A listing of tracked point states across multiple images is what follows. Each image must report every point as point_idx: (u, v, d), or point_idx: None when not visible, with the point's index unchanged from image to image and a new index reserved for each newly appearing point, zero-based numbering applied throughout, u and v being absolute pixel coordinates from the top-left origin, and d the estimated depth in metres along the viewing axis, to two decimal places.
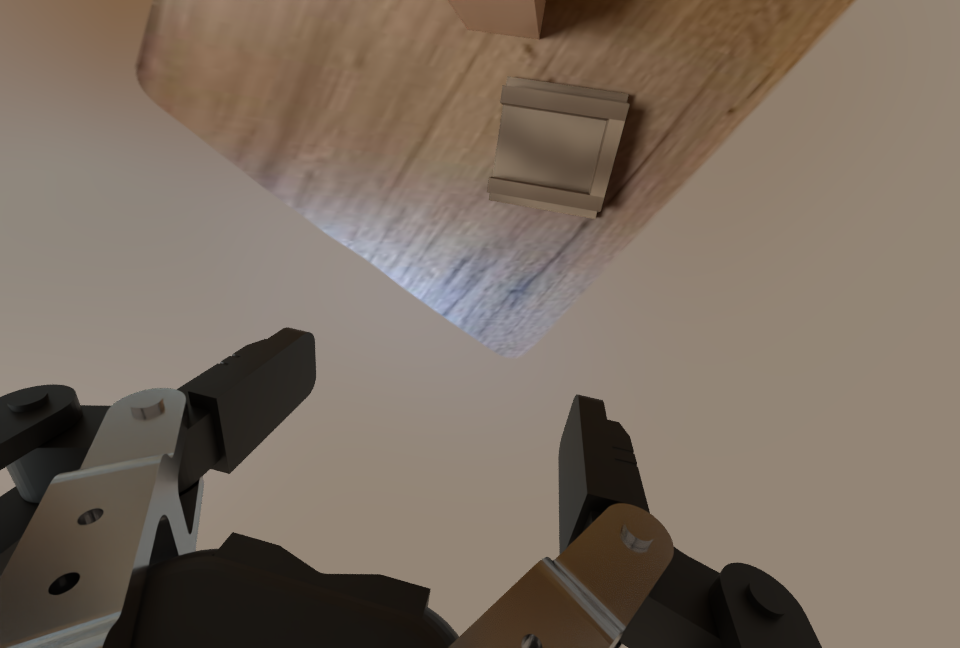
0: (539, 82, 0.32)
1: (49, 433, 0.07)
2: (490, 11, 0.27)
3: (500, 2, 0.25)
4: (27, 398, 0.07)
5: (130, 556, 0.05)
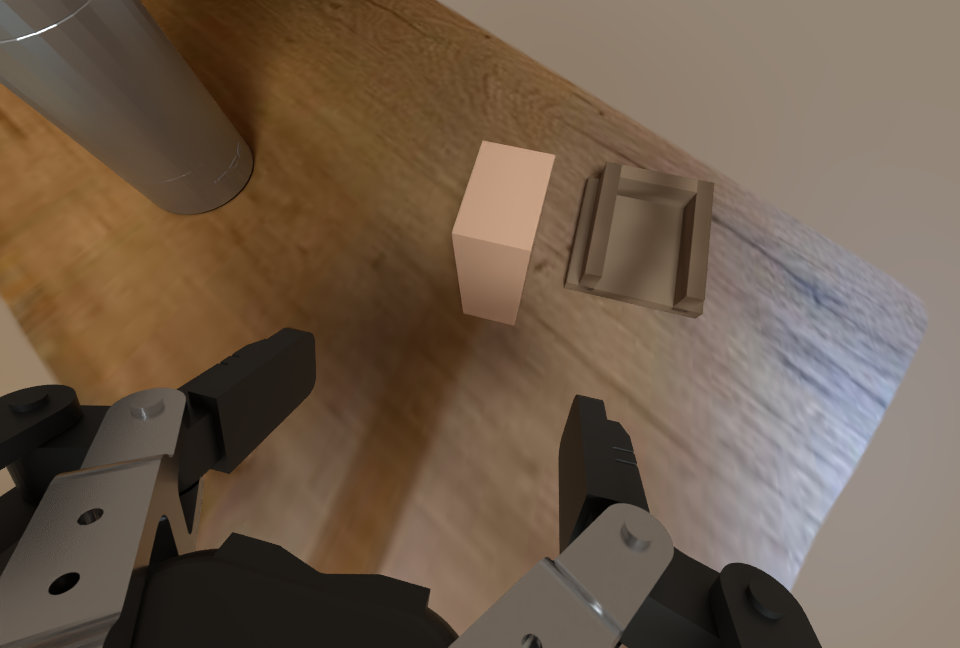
0: (574, 251, 0.30)
1: (49, 433, 0.07)
2: None
3: None
4: (27, 398, 0.07)
5: (130, 556, 0.05)
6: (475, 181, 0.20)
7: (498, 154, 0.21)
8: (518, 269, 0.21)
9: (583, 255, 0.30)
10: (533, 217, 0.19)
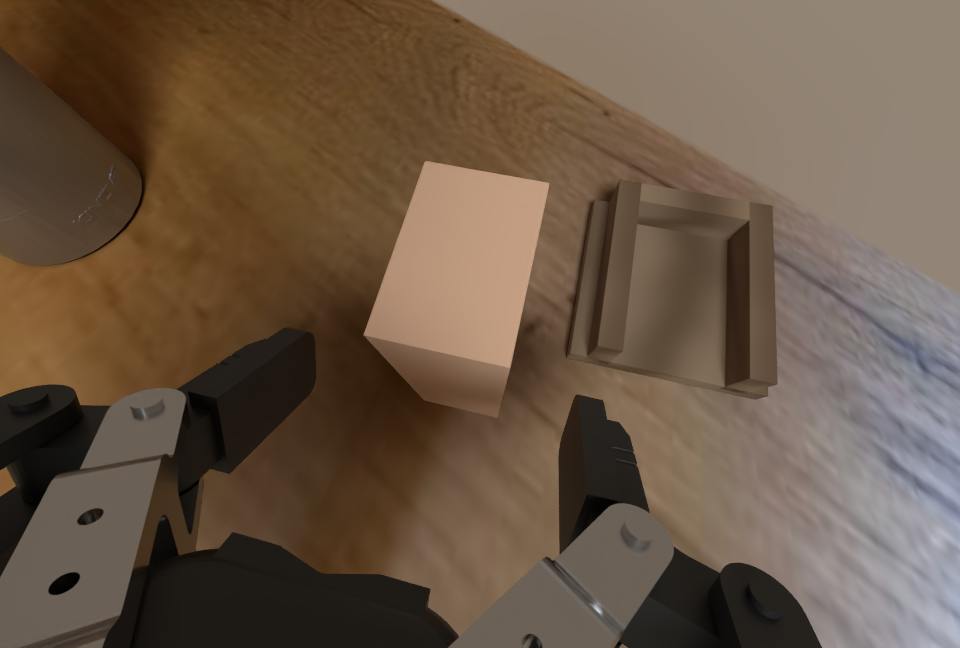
0: (579, 306, 0.21)
1: (49, 433, 0.07)
2: None
3: None
4: (28, 398, 0.07)
5: (130, 556, 0.05)
6: (410, 234, 0.11)
7: (452, 184, 0.12)
8: (492, 381, 0.12)
9: (592, 312, 0.21)
10: (514, 299, 0.11)
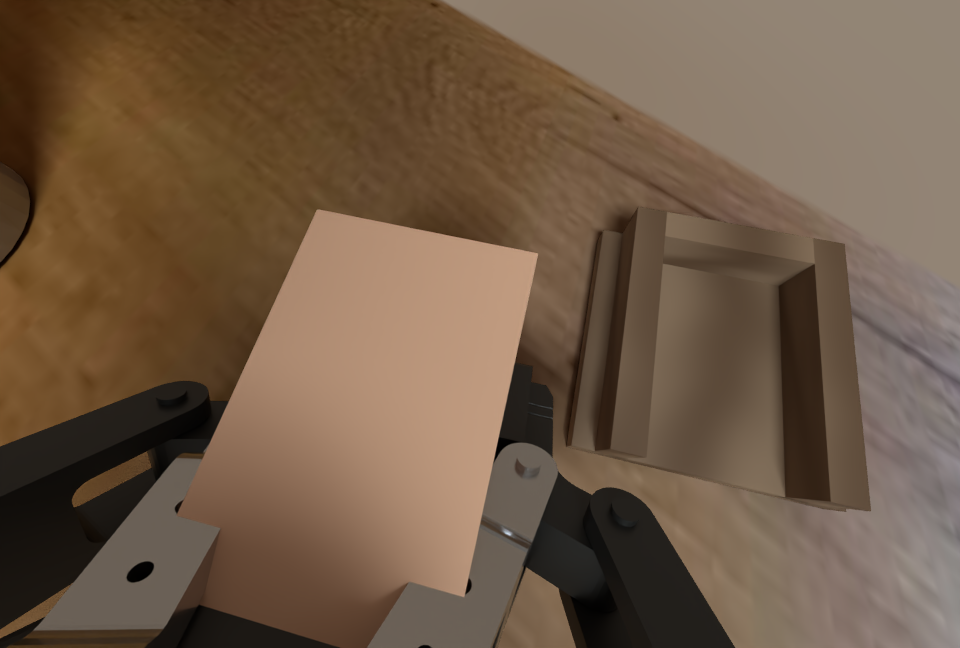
0: (583, 378, 0.16)
1: (192, 426, 0.08)
2: None
3: None
4: (171, 393, 0.08)
5: (197, 561, 0.05)
6: (271, 355, 0.06)
7: (361, 254, 0.07)
8: None
9: (601, 386, 0.16)
10: (461, 508, 0.05)
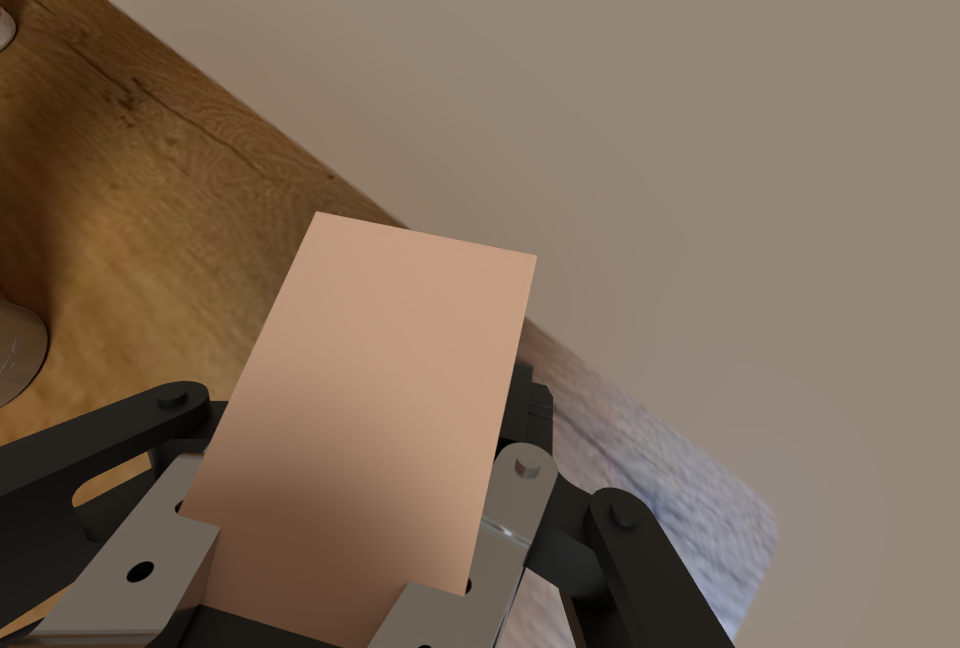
0: None
1: (192, 425, 0.08)
2: None
3: None
4: (170, 394, 0.08)
5: (198, 561, 0.05)
6: (270, 358, 0.06)
7: (360, 256, 0.07)
8: None
9: None
10: (460, 511, 0.05)
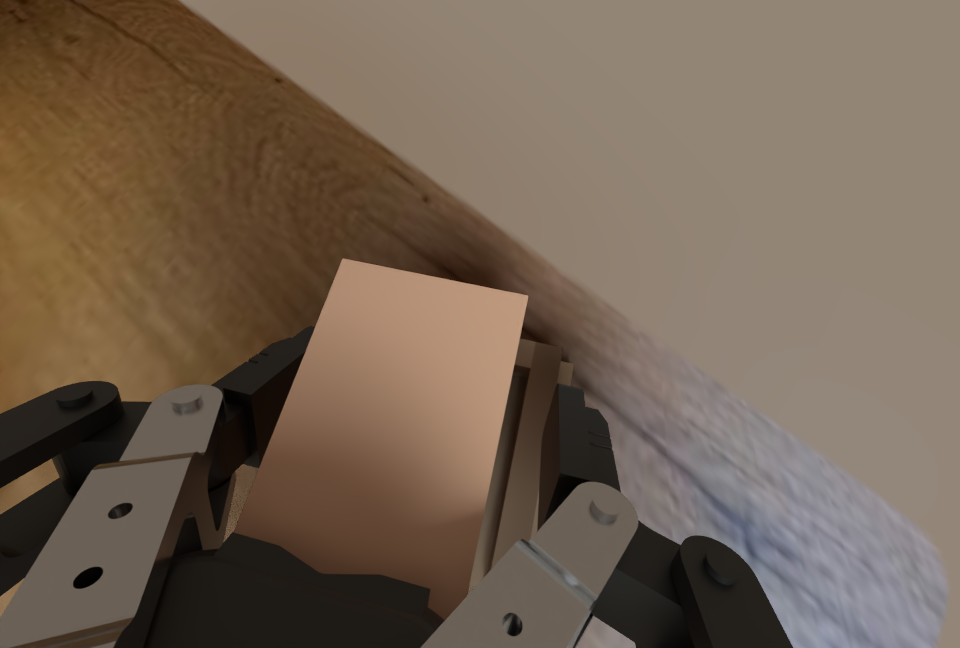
0: None
1: (95, 428, 0.07)
2: None
3: None
4: (73, 394, 0.07)
5: (152, 555, 0.05)
6: (309, 385, 0.07)
7: (380, 297, 0.08)
8: None
9: None
10: (467, 508, 0.07)
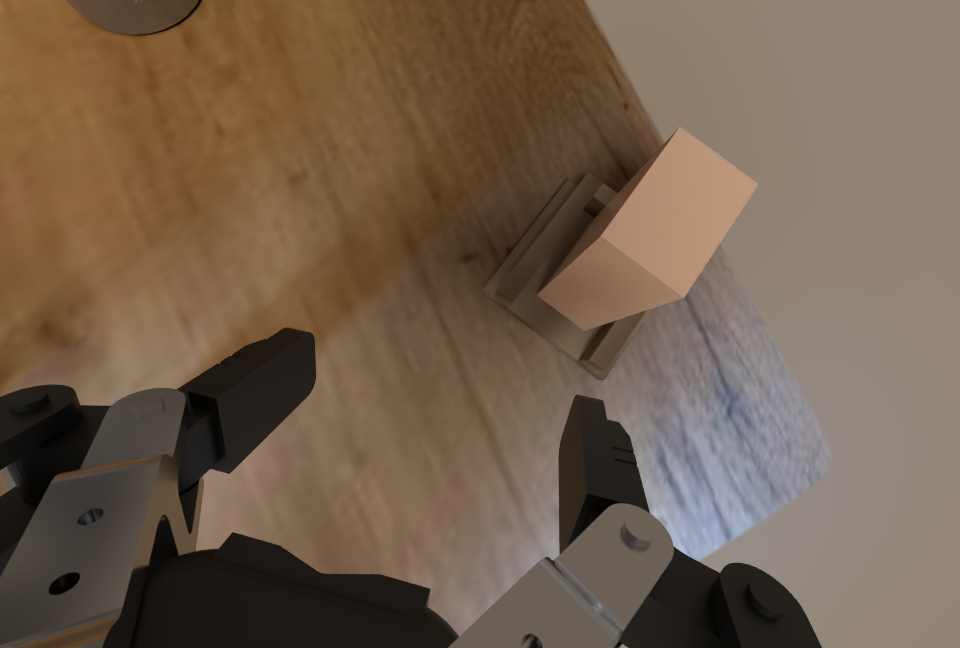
0: (508, 258, 0.26)
1: (49, 433, 0.07)
2: None
3: None
4: (27, 398, 0.07)
5: (130, 556, 0.05)
6: (651, 179, 0.16)
7: (692, 154, 0.16)
8: (646, 301, 0.17)
9: (515, 266, 0.26)
10: (702, 255, 0.15)
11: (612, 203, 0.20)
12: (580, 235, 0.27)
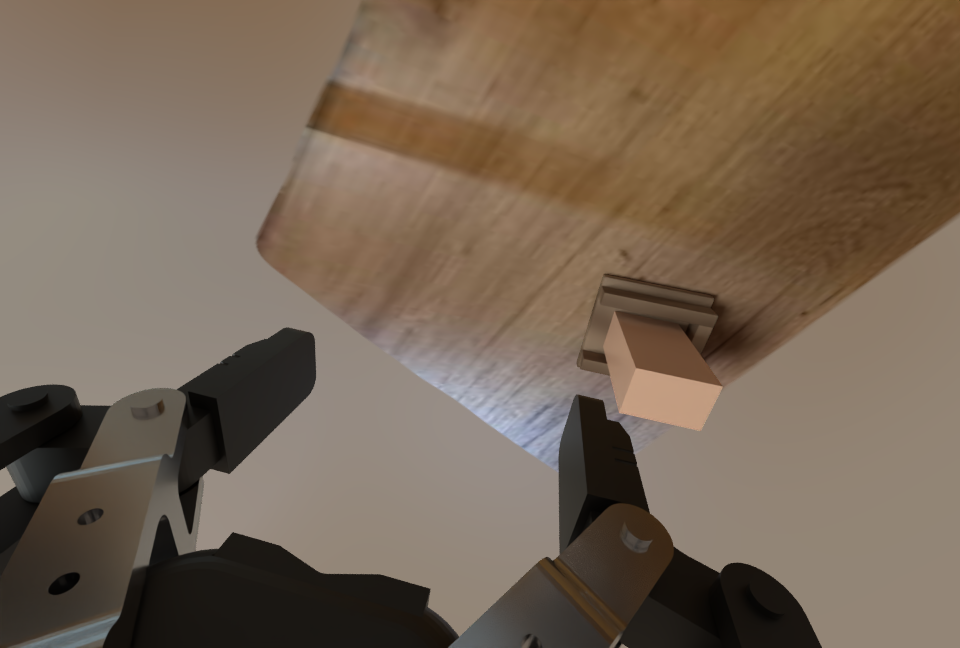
0: (633, 283, 0.36)
1: (49, 433, 0.07)
2: None
3: None
4: (27, 398, 0.07)
5: (130, 556, 0.05)
6: (681, 381, 0.28)
7: (706, 396, 0.28)
8: (616, 392, 0.31)
9: (629, 290, 0.37)
10: (646, 415, 0.29)
11: (681, 350, 0.32)
12: (669, 322, 0.37)
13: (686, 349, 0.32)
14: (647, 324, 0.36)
